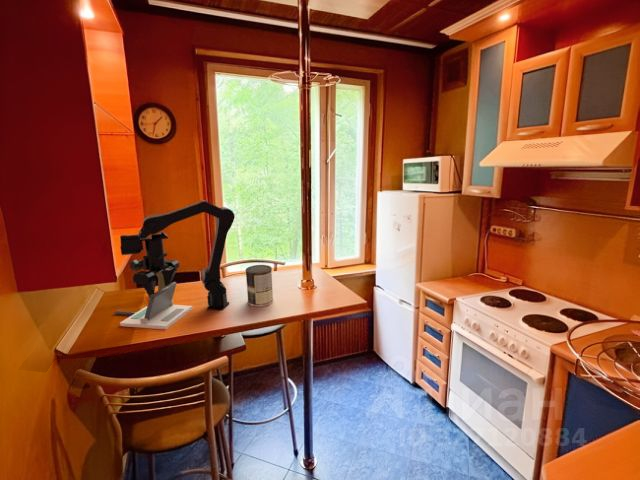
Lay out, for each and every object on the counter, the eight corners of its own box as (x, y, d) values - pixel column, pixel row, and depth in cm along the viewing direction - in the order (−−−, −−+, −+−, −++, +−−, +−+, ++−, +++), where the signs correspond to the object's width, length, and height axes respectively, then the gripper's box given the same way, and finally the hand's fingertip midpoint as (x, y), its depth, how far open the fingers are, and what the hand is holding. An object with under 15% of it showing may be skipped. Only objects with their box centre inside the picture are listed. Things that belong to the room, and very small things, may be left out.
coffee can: (243, 305, 136) (241, 271, 133) (253, 296, 146) (251, 264, 143) (268, 307, 134) (266, 273, 131) (276, 297, 144) (275, 265, 141)
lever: (171, 305, 135) (177, 282, 132) (146, 322, 121) (153, 296, 118) (167, 303, 135) (174, 280, 132) (142, 320, 121) (149, 294, 118)
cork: (167, 296, 148) (164, 271, 145) (154, 295, 149) (151, 271, 146) (175, 291, 153) (172, 267, 151) (163, 290, 155) (160, 266, 152)
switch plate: (192, 308, 134) (192, 301, 134) (166, 329, 118) (165, 321, 118) (131, 304, 139) (130, 298, 139) (98, 324, 123) (96, 316, 122)
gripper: (151, 244, 132) (156, 282, 136) (115, 257, 114) (121, 301, 118) (178, 245, 130) (181, 284, 134) (145, 259, 112) (150, 304, 116)
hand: (159, 293), depth 125 cm, fingers open, 9 cm apart
